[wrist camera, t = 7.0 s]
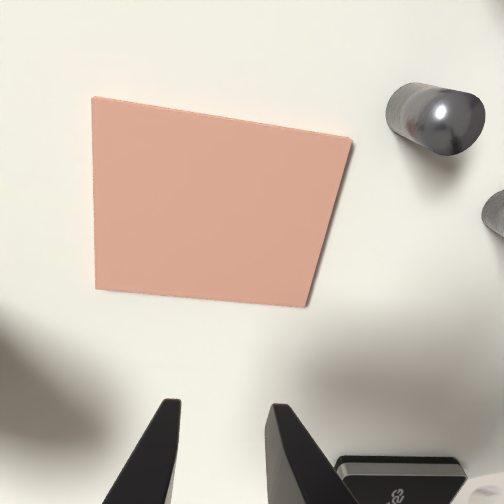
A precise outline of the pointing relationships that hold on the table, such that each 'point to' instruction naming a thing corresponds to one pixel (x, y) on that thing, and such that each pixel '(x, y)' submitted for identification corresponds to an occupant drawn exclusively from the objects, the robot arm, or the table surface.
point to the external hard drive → (401, 479)
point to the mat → (209, 203)
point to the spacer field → (443, 129)
